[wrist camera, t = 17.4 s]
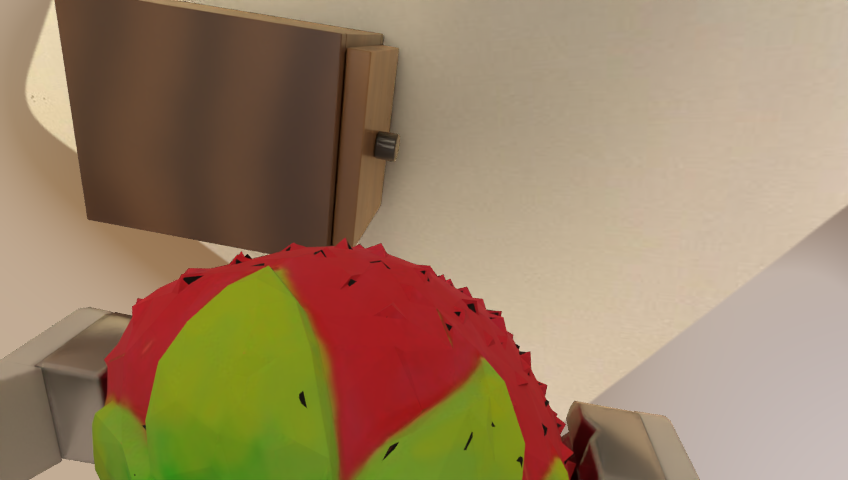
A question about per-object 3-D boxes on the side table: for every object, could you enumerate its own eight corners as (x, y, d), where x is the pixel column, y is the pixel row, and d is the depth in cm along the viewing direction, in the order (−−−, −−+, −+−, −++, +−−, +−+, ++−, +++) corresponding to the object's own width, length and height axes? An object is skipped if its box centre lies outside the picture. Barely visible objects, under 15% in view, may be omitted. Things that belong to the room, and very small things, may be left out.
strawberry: (373, 91, 10) (-637, 568, 1) (591, 320, 12) (978, 1349, 3) (220, 255, 12) (-576, 906, 3) (423, 432, 14) (297, 1231, 5)
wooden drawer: (418, 50, 29) (397, 55, 22) (397, 209, 33) (373, 256, 26) (203, 15, 30) (115, 9, 23) (209, 175, 34) (136, 211, 27)
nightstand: (384, 34, 30) (342, 33, 21) (366, 206, 35) (325, 265, 26) (175, 0, 31) (51, -15, 22) (186, 174, 35) (86, 219, 27)
